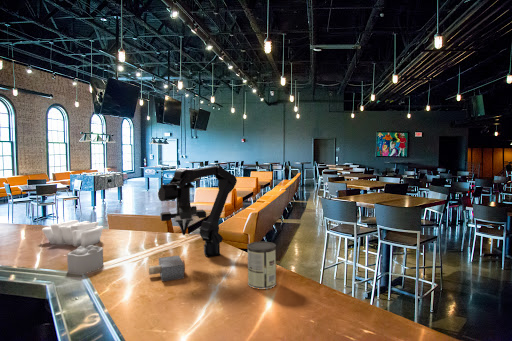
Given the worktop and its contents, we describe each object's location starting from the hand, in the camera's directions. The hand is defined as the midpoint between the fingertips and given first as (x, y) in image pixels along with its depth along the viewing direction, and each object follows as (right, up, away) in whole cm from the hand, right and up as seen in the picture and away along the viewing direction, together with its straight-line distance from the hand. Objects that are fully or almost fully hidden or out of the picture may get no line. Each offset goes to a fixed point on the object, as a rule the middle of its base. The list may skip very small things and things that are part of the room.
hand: (183, 234), depth 136 cm
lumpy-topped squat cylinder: (-39, -13, -5) cm, 41 cm away
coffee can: (+33, -13, -23) cm, 42 cm away
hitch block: (-2, -13, -13) cm, 18 cm away
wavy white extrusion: (-66, -11, +33) cm, 74 cm away
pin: (-4, -13, -14) cm, 19 cm away
